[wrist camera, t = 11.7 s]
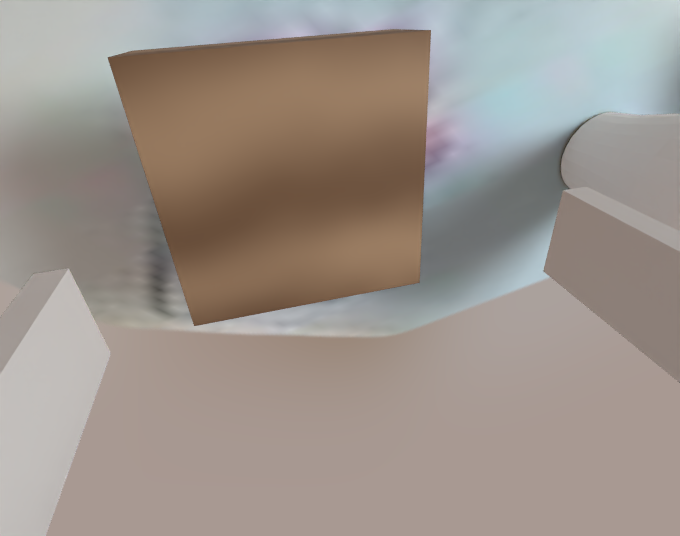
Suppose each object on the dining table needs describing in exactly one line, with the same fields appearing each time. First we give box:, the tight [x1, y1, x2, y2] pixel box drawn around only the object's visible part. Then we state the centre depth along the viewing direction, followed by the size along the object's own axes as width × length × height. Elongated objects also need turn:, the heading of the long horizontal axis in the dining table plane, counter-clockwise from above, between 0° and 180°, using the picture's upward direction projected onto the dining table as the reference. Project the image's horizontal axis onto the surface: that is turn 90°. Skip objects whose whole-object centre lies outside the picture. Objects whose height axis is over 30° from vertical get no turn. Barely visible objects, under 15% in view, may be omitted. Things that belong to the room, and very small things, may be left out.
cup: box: [561, 112, 680, 231], centre depth 26 cm, size 10×10×14 cm
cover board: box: [108, 29, 431, 326], centre depth 18 cm, size 11×11×4 cm
